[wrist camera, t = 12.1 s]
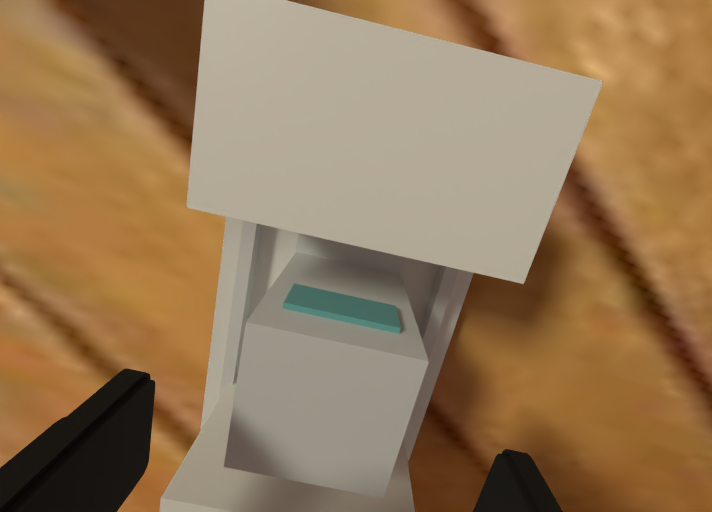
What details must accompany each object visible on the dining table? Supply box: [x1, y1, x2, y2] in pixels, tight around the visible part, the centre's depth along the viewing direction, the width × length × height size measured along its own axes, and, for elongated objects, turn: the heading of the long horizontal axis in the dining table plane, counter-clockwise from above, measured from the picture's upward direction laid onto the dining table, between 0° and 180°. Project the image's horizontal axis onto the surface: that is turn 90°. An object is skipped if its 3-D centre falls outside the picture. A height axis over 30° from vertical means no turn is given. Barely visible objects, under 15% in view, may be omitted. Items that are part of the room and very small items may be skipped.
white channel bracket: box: [160, 0, 603, 512], centre depth 14 cm, size 20×12×8 cm, turn 167°
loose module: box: [224, 252, 429, 498], centre depth 13 cm, size 5×5×7 cm
